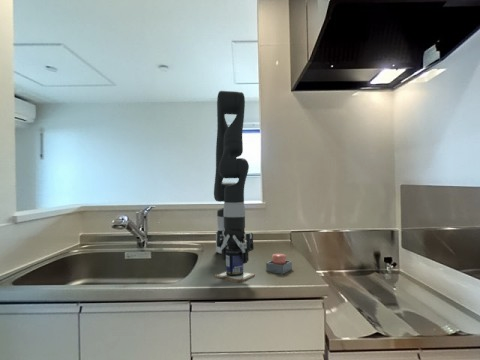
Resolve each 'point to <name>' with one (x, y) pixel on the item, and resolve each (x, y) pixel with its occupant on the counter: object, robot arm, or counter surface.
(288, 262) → the button collar
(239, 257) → the pill bottle
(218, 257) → the counter surface
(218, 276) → the picture frame
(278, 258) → the button
